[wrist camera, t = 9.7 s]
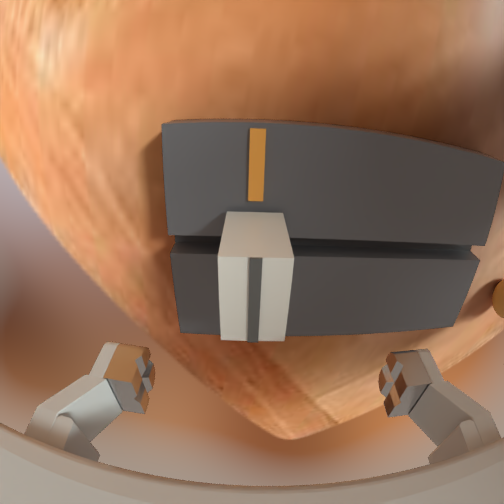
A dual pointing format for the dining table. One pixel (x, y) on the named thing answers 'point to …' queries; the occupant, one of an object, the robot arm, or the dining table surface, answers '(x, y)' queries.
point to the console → (331, 219)
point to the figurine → (499, 299)
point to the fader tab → (254, 276)
